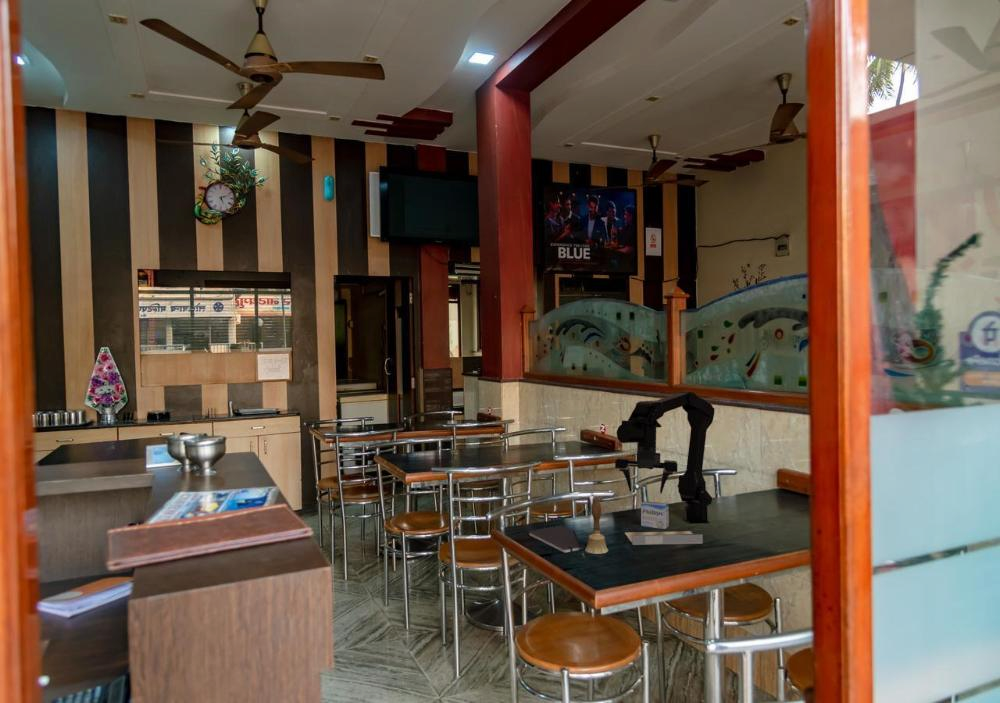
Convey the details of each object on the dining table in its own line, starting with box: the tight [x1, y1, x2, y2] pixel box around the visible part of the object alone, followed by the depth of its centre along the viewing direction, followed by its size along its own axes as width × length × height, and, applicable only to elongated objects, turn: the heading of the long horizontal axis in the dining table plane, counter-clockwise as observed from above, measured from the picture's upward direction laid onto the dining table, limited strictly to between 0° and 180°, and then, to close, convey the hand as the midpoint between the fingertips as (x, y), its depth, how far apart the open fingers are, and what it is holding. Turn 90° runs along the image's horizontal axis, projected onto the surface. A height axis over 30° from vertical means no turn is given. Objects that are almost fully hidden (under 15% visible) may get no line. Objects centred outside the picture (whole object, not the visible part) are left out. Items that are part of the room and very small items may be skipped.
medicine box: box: [640, 500, 670, 530], centre depth 198 cm, size 8×4×9 cm, turn 62°
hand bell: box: [581, 497, 609, 558], centre depth 175 cm, size 8×8×16 cm
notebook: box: [528, 525, 583, 553], centre depth 190 cm, size 13×2×21 cm
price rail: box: [631, 533, 704, 546], centre depth 179 cm, size 20×1×2 cm, turn 90°
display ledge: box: [624, 530, 700, 546], centre depth 184 cm, size 20×12×2 cm, turn 90°
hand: (645, 492), depth 194 cm, fingers open, 9 cm apart
